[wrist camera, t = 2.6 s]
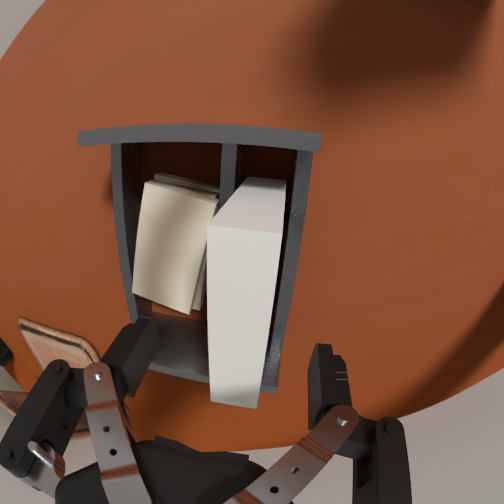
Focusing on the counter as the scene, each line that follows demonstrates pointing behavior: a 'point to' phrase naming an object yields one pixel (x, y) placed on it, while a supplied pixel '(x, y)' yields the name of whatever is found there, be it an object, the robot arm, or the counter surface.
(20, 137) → the counter surface
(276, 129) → the rack
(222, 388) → the tall board
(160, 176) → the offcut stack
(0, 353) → the portable radio
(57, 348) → the case
